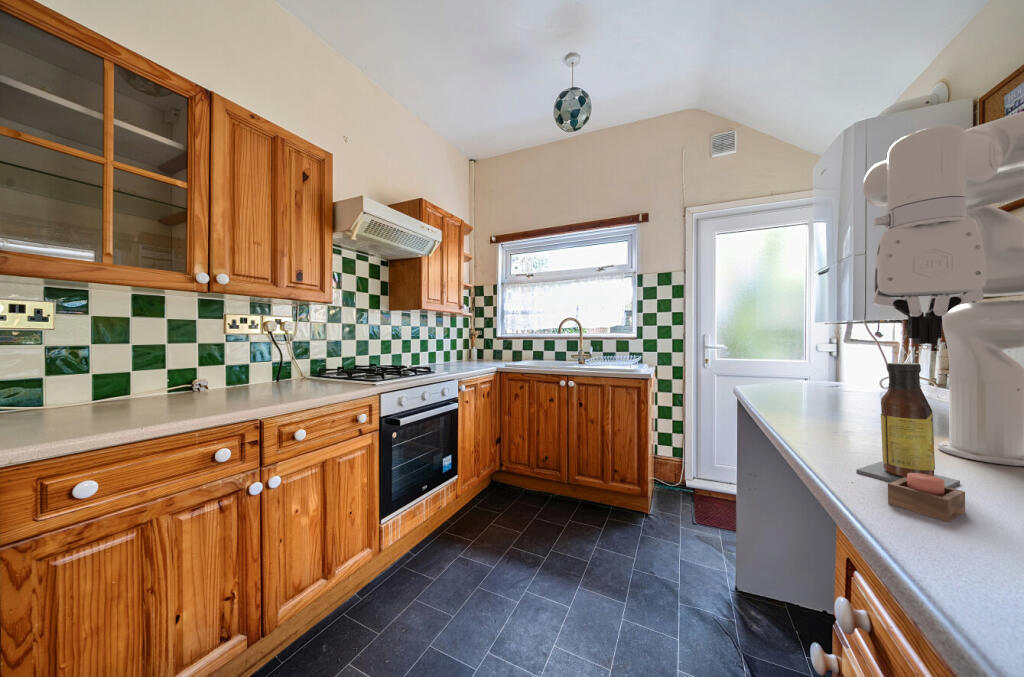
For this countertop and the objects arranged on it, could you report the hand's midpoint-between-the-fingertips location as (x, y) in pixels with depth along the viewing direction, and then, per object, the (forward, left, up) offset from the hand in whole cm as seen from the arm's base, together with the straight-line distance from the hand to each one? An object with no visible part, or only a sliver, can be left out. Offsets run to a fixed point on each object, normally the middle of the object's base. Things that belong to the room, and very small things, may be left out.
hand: (924, 343), depth 52 cm
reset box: (0, 0, -25) cm, 25 cm away
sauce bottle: (-12, -6, -24) cm, 28 cm away
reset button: (0, 0, -22) cm, 22 cm away
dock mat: (-12, -6, -25) cm, 28 cm away
